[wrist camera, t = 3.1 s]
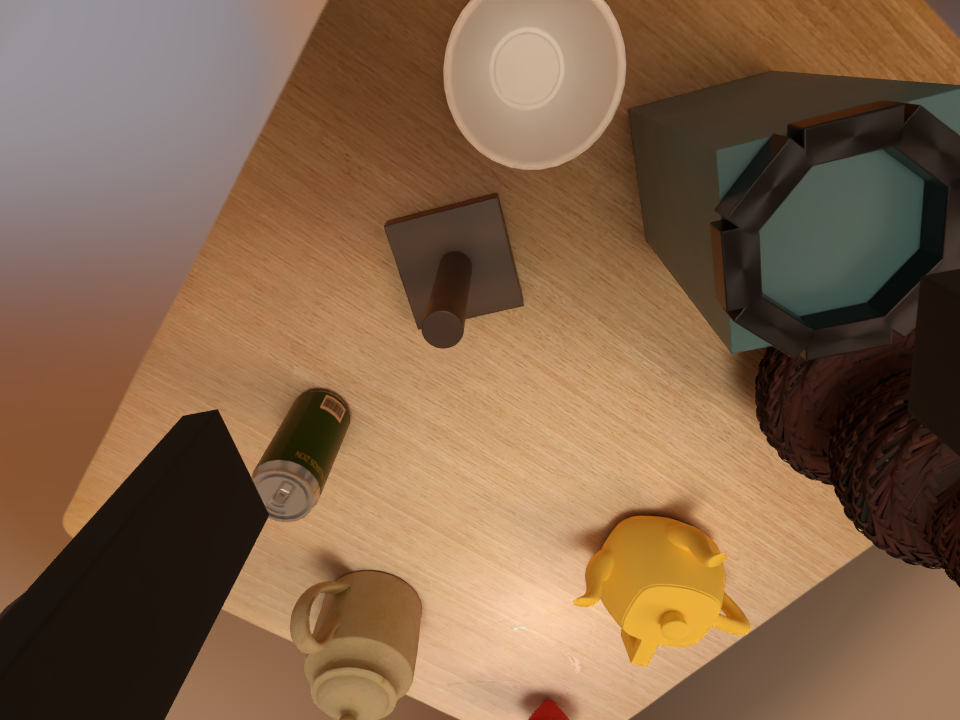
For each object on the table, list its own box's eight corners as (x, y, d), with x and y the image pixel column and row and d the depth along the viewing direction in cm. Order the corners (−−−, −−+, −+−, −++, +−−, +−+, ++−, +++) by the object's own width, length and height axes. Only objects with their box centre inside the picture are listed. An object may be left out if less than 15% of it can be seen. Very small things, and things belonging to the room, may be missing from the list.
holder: (386, 221, 48) (348, 279, 36) (497, 193, 46) (496, 243, 34) (420, 322, 52) (395, 405, 40) (523, 299, 50) (530, 377, 38)
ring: (702, 144, 25) (714, 150, 24) (974, 76, 24) (1003, 77, 23) (720, 361, 30) (731, 376, 29) (949, 315, 29) (973, 328, 27)
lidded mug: (277, 596, 67) (221, 731, 54) (324, 537, 63) (276, 667, 50) (390, 651, 71) (364, 790, 58) (442, 598, 67) (427, 735, 53)
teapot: (693, 480, 58) (727, 556, 49) (733, 572, 64) (770, 656, 55) (562, 526, 62) (572, 605, 53) (610, 610, 67) (627, 695, 58)
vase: (688, 365, 53) (882, 689, 26) (832, 224, 47) (1273, 457, 20) (807, 452, 56) (1083, 813, 30) (954, 333, 50) (1462, 650, 24)
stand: (627, 108, 43) (715, 150, 26) (771, 70, 42) (970, 85, 24) (645, 241, 48) (731, 354, 30) (776, 210, 46) (948, 310, 29)
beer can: (309, 376, 54) (263, 456, 44) (362, 406, 56) (329, 490, 45) (284, 417, 56) (233, 503, 46) (335, 445, 58) (297, 534, 47)
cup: (429, 40, 42) (407, 37, 32) (558, -46, 39) (578, -77, 29) (499, 169, 46) (498, 202, 36) (620, 98, 43) (655, 113, 33)
